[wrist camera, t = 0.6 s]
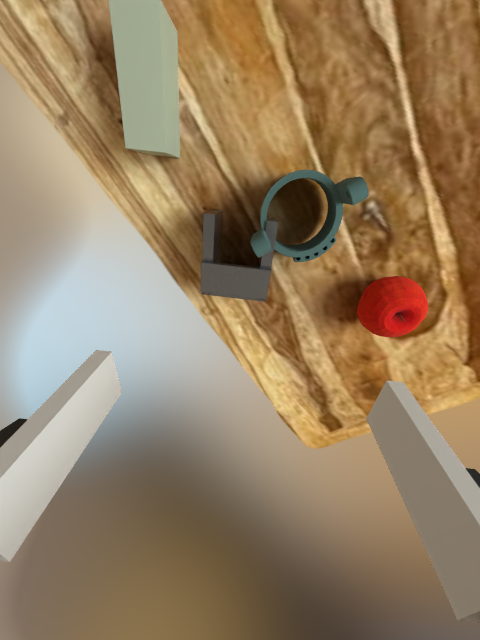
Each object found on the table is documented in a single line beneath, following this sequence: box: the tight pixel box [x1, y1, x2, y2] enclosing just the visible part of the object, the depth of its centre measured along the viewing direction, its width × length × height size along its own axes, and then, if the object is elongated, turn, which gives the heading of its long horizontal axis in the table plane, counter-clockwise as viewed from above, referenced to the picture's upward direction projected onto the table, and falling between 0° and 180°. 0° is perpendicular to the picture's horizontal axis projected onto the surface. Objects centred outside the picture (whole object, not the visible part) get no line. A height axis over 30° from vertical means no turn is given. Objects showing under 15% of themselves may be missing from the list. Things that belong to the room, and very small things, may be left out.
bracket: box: [251, 170, 368, 262], centre depth 25 cm, size 9×9×9 cm
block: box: [109, 0, 180, 158], centre depth 23 cm, size 10×4×5 cm, turn 174°
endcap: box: [201, 209, 278, 302], centre depth 29 cm, size 9×8×7 cm
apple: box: [357, 276, 428, 337], centre depth 31 cm, size 8×8×7 cm
